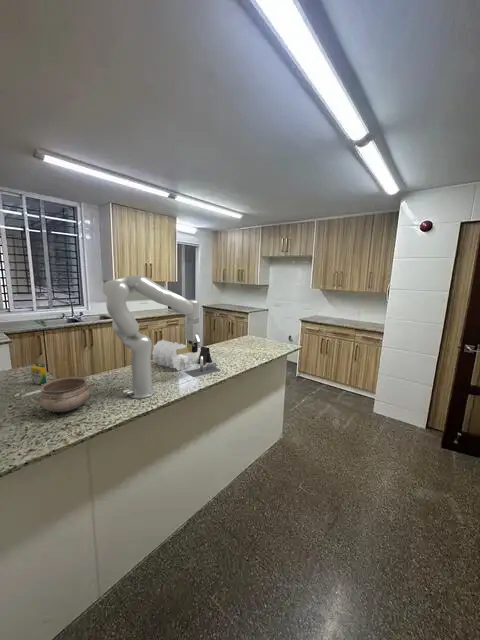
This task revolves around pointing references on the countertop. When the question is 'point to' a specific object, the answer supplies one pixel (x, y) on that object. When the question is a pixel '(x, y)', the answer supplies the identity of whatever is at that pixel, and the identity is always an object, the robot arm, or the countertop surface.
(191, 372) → the mat
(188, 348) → the loose leaf
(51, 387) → the cooking pot
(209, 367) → the fixed leaf
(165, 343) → the spiral staircase
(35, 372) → the crayon box
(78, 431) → the countertop surface
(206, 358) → the phone stand
